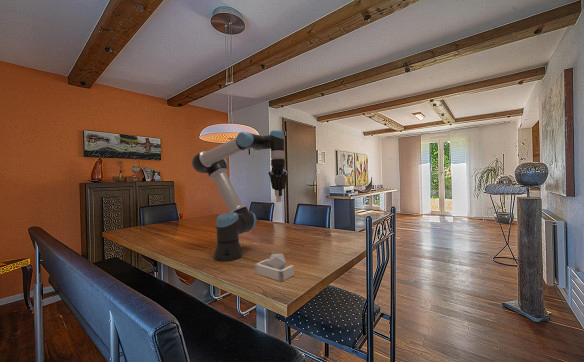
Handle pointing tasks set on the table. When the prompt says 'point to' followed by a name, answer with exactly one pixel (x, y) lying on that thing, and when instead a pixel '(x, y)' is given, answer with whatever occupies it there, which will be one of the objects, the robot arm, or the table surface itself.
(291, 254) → the table surface
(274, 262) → the die
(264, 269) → the grey u-shaped bracket
